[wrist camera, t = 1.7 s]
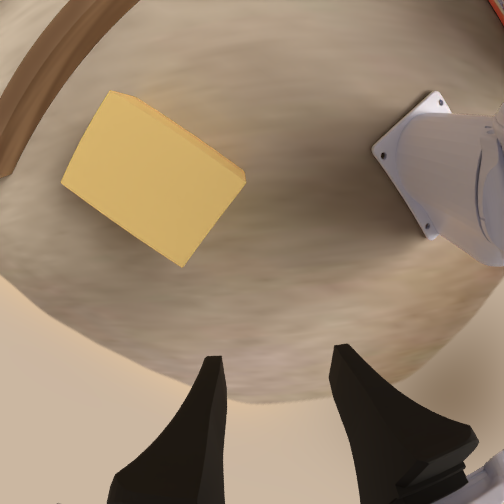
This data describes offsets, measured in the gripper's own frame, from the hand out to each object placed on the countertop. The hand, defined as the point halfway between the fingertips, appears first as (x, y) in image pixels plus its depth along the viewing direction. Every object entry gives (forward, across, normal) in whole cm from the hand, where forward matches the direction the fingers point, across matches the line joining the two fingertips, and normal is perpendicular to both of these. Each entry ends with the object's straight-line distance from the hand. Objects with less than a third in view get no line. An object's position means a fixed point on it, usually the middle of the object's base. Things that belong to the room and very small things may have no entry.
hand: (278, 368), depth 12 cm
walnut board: (+10, +12, -18) cm, 24 cm away
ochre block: (+11, +6, -7) cm, 14 cm away
